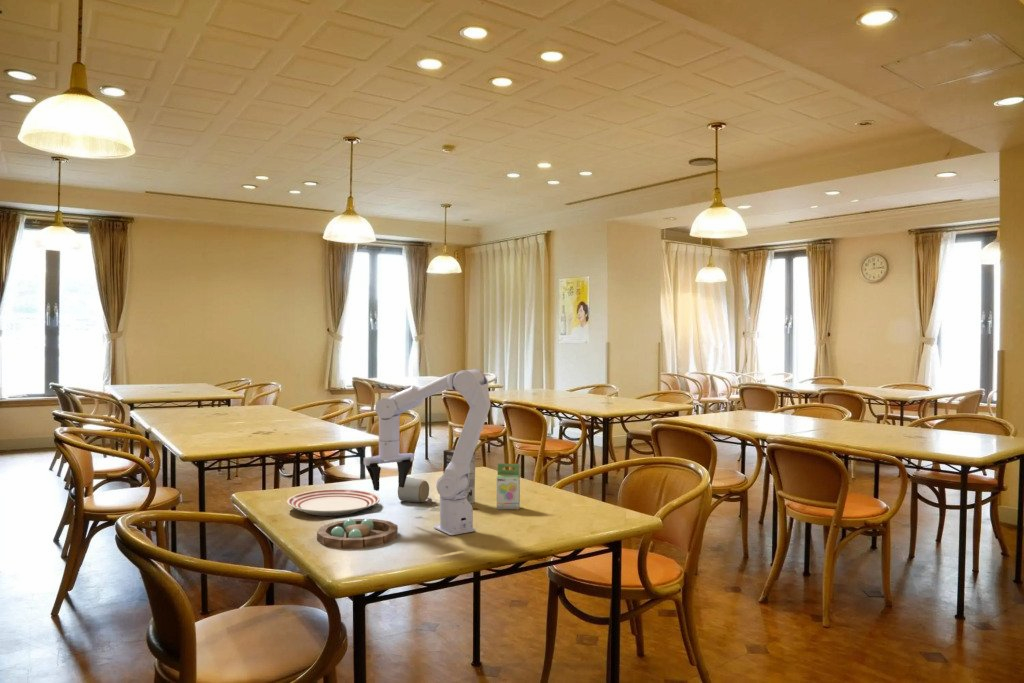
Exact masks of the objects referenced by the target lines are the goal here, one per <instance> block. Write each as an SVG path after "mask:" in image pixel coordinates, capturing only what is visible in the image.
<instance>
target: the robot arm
mask: <svg viewBox="0 0 1024 683" xmlns="http://www.w3.org/2000/svg"><path fill="white" fill-rule="evenodd" d="M446 390H449V391H456V392H457V393H458V394H460V396H462V397H463V398H464V399H465V401H466V403H467V404H468V406H469V409H468V412H467V415H466V418H465V421H464V424H463V427H462V429H461V432H460V435H459V438H458V441H457V442H456V446H455V451H454V454H453V457H452V460H451V462H450V463H449V465H448V466H447V468H446V469H445V472H444V471H443V472H444V474H442V475H441V476H440V477H439V478H438V480H437V482H436V491H437V493H438V494H439V524H437V525H433V529H436V530H438V531H440V532H442V533H444V534H446V535H448V536H455V535H461V534H462V535H463V534H466V533H467V534H468V533H471V532H473V533H474V532H476V528H474V526H473V525H474V523H473V521H474V519H473V518H474V515H473V514H474V510H473V506H472V503H469V502H468V501H467V498H466V491H465V490H466V489H467V487H468V485H469V473H470V466H469V465H470V462H471V459H472V456H473V454H474V452H475V450H476V449H477V445H478V443H479V439H480V437H481V434H482V431H483V428H484V426H485V422H486V420H487V418H488V415H489V411H490V408H491V406H492V404H491V398H490V392H489V380H488V378H487V377H486V375H485V373H484V372H483V371H482V370H480V369H478V368H471V369H467V370H466V369H462V370H459V371H457V372H453V373H449V374H446V375H443V376H442V377H439V378H437V379H435V380H433V381H431V382H429V383H428V384H426V385H423V386H421V387H419V386H416V385H412V386H411V385H406V386H405V387H404V389H403V390H401V391H399V392H392V393H391V394H390V396H389V397H382V398H381V399H379V400H378V401H377V402H376V404H375V408H374V410H375V413H376V415H377V416H378V455H373V456H368V457H366V456H365V457H363V465H364V466H365V468H366V470H367V472H368V474H369V477H370V479H371V483H372V488H373V490H374V491H376V492H379V491H380V477H381V470H382V467H381V466H379V465H381V464H382V465H383V464H390V463H396V466H397V473H398V480H397V481H398V483H397V484H398V485H399V487H402V488H403V487H404V485H405V481H406V477H408V474H409V472H410V470H411V468H412V467H413V461H415V457H414V456H415V453H413V452H409V453H408V452H407V453H400V442H401V441H400V417H401V415H402V414H404V413H406V412H408V411H410V410H413V409H415V408H417V407H419V406H422V405H423V403H424V402H425V399H426V398H429V397H431V396H433V395H436V394H439V393H441V392H444V391H446Z"/></svg>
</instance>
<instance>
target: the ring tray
mask: <svg viewBox="0 0 1024 683" xmlns="http://www.w3.org/2000/svg"><path fill="white" fill-rule="evenodd" d="M352 519H353V520H355V522H356V525H350V526H348V527H346V530H345V529H344V527H343V524H344V522H345V521H346V520H347V519H345V520H339V521H332V522H329V523H328V524H324V525H322V526H319V529H318V530H317V532H316V541H317V543H320V544H321V545H323V546H325V547H330V548H337V549H363V548H364V549H365V548H371V547H372V548H373V547H378V546H382V545H385V544H388V543H390V542H392V541H394V540H396V539H397V537H398V529H399V528H398V524H396V523H394V522H392V521H389V520H384V519H377V518H369V519H370V520H372V521H373V524H374V526H373V529H372V530H371V531H370V526H369V525H364V524H361V522H362V521H363V520H364V519H365V518H352ZM335 527H342V528H343V529H344V532H345V534H344V537H336V536H331V531H332V529H333V528H335ZM353 529H358V530H360V531H361V533H362V538H348V535H349V533H350V531H351V530H353Z"/></svg>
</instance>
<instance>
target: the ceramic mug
mask: <svg viewBox="0 0 1024 683" xmlns="http://www.w3.org/2000/svg"><path fill="white" fill-rule="evenodd" d="M429 495H430V485H429V483H428V481H427V480H425V479H421V478H416V477H415V478H414V477H411V476H410V477H409V476H407V477H406V481H405V485H404V487H403V488H402V487H399V484H398V486H397V497H398V500H400V501H401V502H409V503H424V502H426V500H427V499H428V498H429Z"/></svg>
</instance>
